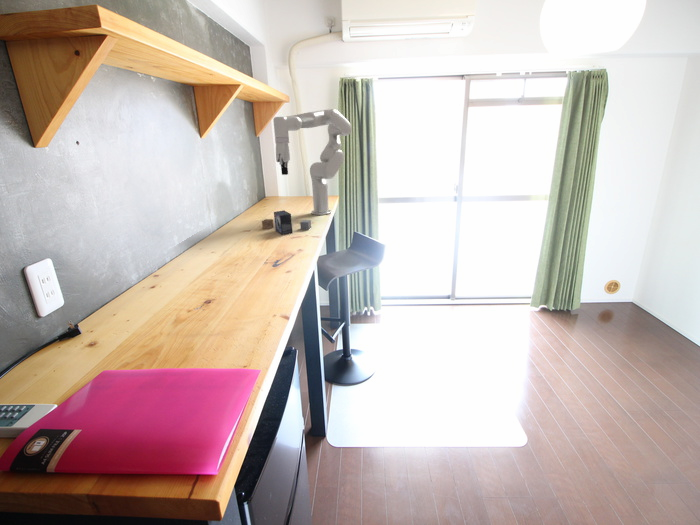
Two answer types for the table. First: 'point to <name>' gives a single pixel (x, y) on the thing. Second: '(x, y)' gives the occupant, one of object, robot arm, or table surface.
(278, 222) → the small box
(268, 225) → the walnut block
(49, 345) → the table surface
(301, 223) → the charcoal block
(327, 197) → the robot arm
